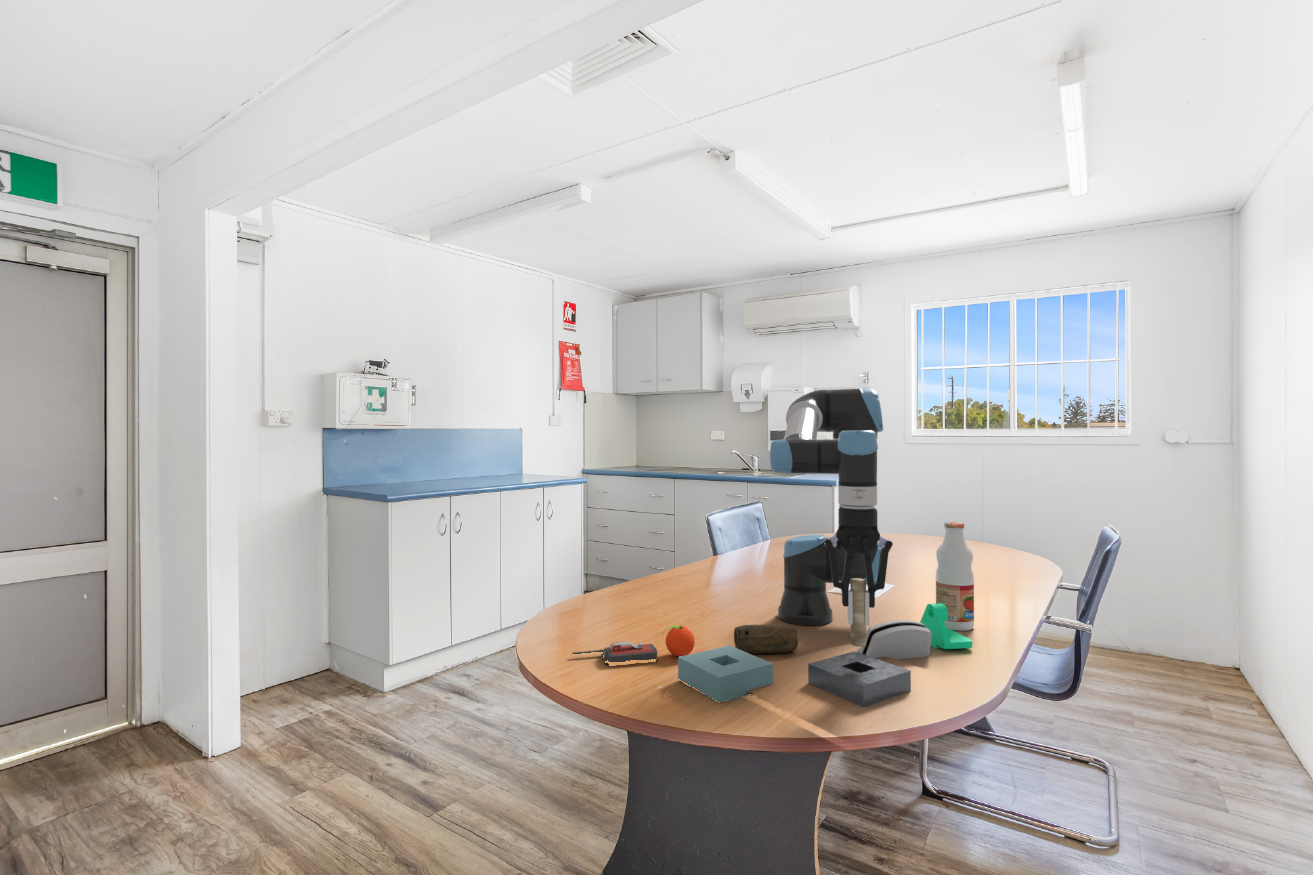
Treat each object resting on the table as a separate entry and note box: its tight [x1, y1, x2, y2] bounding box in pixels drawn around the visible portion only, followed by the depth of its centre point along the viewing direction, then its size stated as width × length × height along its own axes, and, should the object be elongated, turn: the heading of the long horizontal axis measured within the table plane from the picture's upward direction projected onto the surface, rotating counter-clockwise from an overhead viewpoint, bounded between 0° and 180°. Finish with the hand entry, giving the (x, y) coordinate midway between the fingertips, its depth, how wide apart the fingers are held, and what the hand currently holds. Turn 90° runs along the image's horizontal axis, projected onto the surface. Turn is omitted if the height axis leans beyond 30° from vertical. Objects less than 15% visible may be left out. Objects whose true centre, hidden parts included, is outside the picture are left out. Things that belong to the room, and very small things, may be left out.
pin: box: [850, 578, 867, 648], centre depth 130 cm, size 3×3×13 cm
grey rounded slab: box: [856, 619, 932, 660], centre depth 150 cm, size 17×5×10 cm, turn 104°
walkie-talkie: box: [571, 641, 658, 662], centre depth 150 cm, size 9×4×20 cm
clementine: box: [662, 625, 696, 657], centre depth 152 cm, size 8×7×7 cm
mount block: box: [807, 650, 912, 708], centre depth 130 cm, size 14×14×5 cm
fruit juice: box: [935, 521, 975, 632], centre depth 175 cm, size 9×9×28 cm
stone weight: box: [733, 624, 799, 655], centre depth 154 cm, size 15×7×7 cm, turn 99°
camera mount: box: [920, 603, 973, 650], centre depth 160 cm, size 12×8×10 cm, turn 8°
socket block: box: [677, 645, 774, 703], centre depth 134 cm, size 14×14×5 cm
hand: (858, 622), depth 130 cm, fingers closed on pin, 2 cm apart
